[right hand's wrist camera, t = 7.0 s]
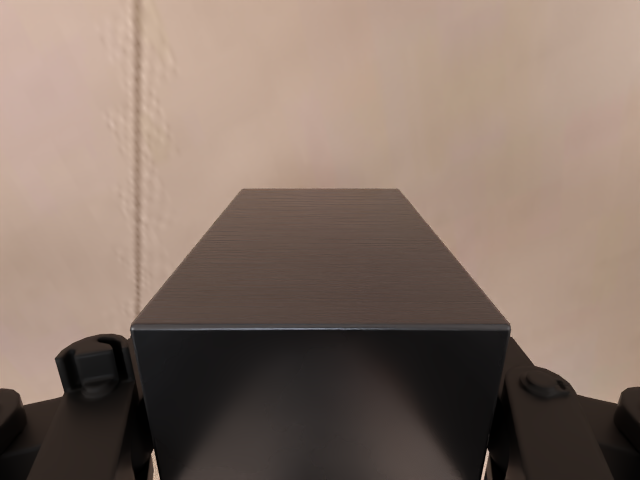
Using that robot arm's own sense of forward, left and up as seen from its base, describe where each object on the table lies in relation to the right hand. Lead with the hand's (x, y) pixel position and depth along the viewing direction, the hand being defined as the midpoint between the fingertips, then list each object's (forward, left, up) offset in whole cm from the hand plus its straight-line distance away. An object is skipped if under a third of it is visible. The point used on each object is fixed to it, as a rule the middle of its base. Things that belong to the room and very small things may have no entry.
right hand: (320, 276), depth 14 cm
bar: (0, +10, -1) cm, 10 cm away
